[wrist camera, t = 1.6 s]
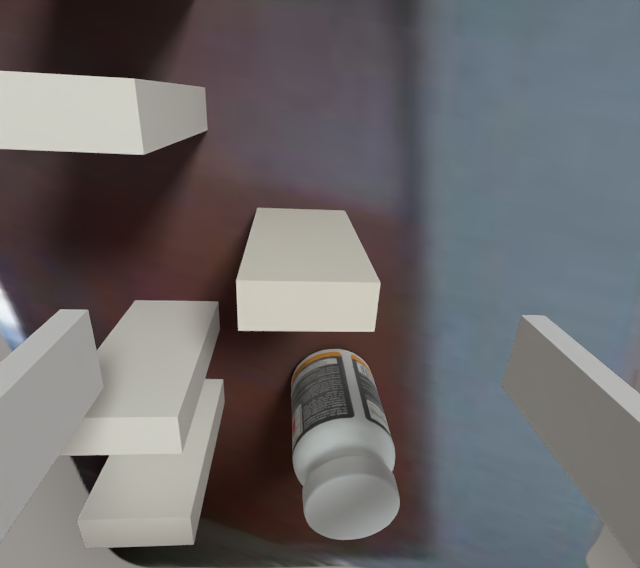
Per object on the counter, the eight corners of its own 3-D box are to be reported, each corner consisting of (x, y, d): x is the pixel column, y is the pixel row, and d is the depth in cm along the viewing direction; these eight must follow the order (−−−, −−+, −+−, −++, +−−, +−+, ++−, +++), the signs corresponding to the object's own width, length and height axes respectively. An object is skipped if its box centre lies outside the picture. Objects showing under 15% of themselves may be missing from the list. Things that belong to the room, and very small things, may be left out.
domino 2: (135, 300, 25) (45, 418, 16) (218, 301, 25) (177, 416, 16) (139, 328, 25) (56, 455, 16) (220, 328, 26) (182, 453, 17)
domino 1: (100, 81, 20) (-63, 66, 11) (204, 87, 20) (134, 78, 11) (107, 125, 20) (-39, 147, 11) (207, 130, 21) (143, 154, 12)
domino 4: (257, 207, 23) (235, 280, 14) (344, 210, 23) (380, 282, 14) (257, 241, 24) (238, 330, 14) (342, 243, 24) (374, 331, 15)
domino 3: (147, 379, 27) (76, 520, 18) (223, 379, 28) (190, 516, 18) (151, 402, 28) (84, 548, 19) (224, 402, 28) (193, 544, 19)
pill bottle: (286, 408, 29) (285, 547, 20) (296, 340, 27) (299, 464, 18) (363, 412, 30) (395, 549, 21) (379, 347, 27) (423, 470, 18)
